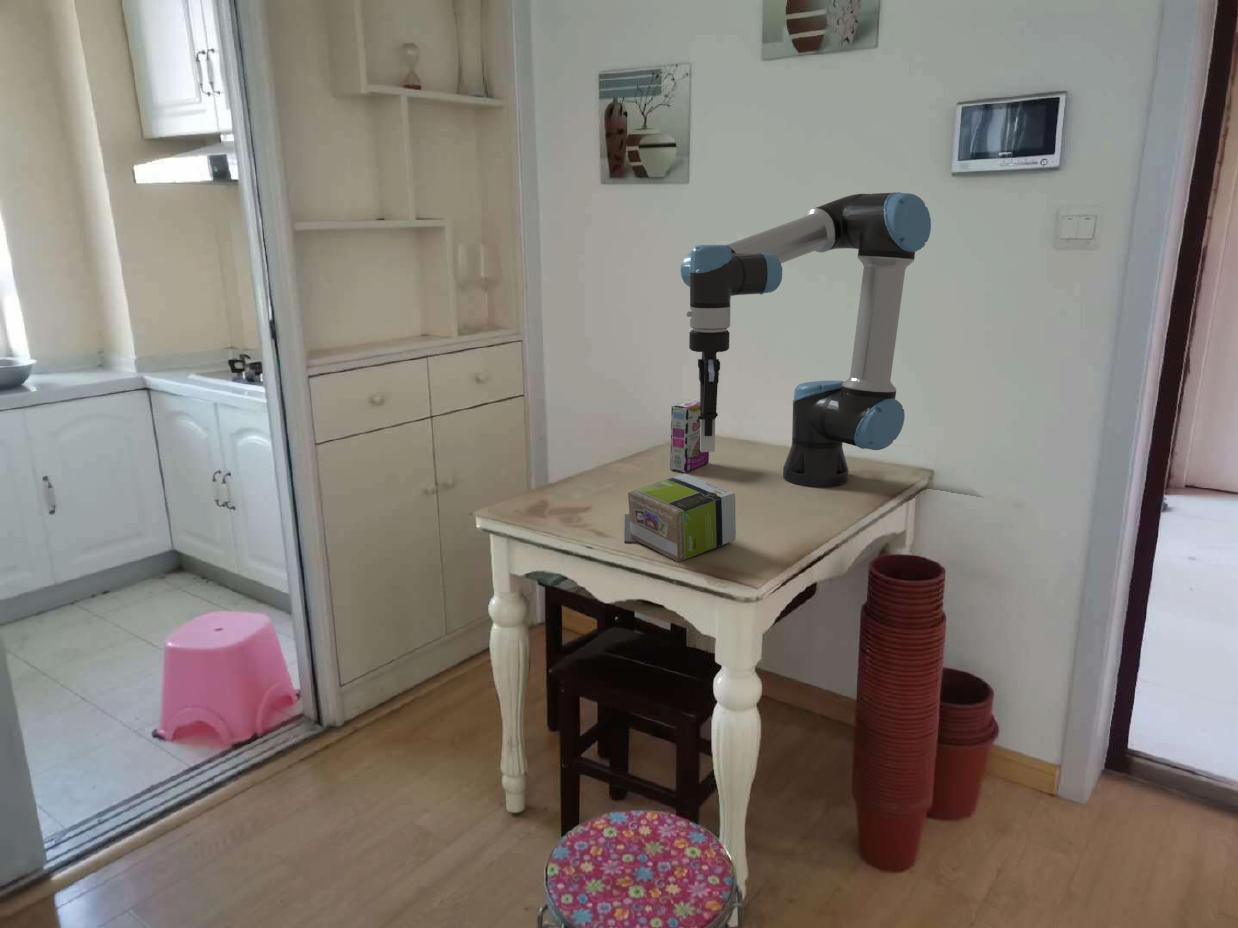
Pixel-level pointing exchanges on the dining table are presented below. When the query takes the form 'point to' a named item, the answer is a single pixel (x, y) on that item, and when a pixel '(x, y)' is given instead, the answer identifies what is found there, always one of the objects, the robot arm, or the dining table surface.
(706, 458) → the candy bar box
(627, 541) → the mat
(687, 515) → the tea box
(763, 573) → the dining table surface
